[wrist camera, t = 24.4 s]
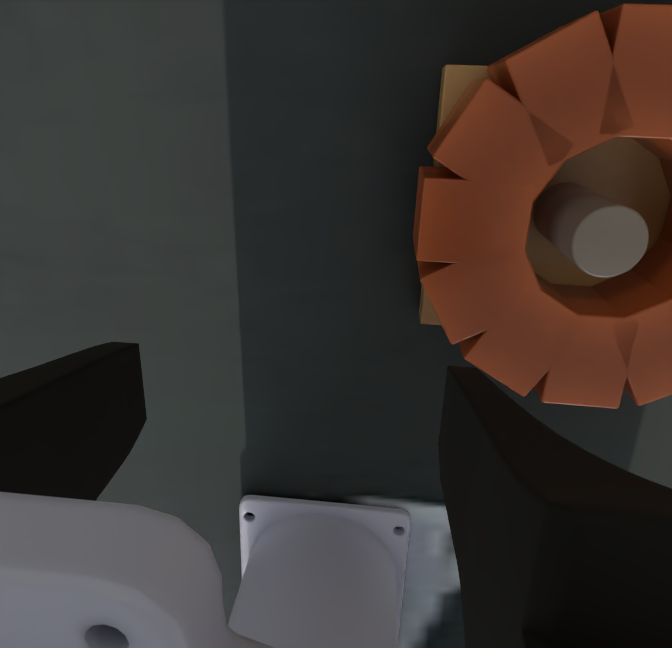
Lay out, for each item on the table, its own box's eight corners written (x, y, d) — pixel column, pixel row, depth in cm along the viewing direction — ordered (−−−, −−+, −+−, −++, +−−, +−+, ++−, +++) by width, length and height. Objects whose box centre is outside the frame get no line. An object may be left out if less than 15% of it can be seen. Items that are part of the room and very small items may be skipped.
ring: (712, 376, 21) (765, 422, 18) (401, 352, 22) (402, 392, 19) (827, 28, 17) (922, 11, 14) (433, 14, 17) (441, -3, 14)
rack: (652, 328, 22) (735, 401, 16) (418, 313, 22) (426, 379, 17) (719, 75, 18) (851, 64, 13) (442, 66, 19) (460, 52, 14)
